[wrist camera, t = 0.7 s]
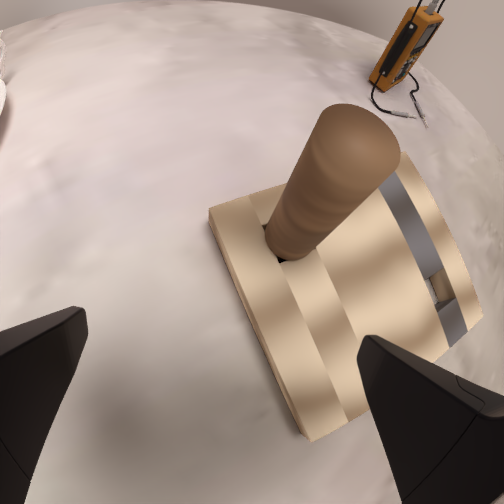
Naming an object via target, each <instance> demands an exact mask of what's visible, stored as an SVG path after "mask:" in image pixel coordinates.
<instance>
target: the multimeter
mask: <svg viewBox="0 0 504 504" xmlns="http://www.w3.org/2000/svg"><path fill="white" fill-rule="evenodd" d="M438 1H439V0H433V1H432V3H430V4H429V6H424V7H423V6H422V7H419V6H420V4H421V2H422V0H420V1H419V3H418V5H417V7H410V8H409V9H408V10H407V12H406V14H405V16H404V18H403V19H402V21H401V23H400V24H399V26H398V28H397V30H396V32H395V33H394V35H393V37H392V38H391V40H390V42H389V44H388V45H387V47H386V49H385V51H384V52H383V54H382V56H381V58H380V59H379V61H378V63H377V65H376V66H375V68H374V70H373V72H372V73H371V75H370V77H369V80H370V81H371V82H373V83H374V87H373V89H372V92H371V99H372V101H373V103H374V104H375V106H376V107H377V108H378V109H379V110H381V111H383V112H387V113H391V114H394V115H400V116H406V117H408V116H411V117H416V118H417V116H413V115H409V114H408V113H403V112H398V111H387V110H383V109H381V108H380V107H379V106H378V105H377V104H376V102H375V101H374V99H373V92H374V89H375V87H376V86H378V87H379V88H380V89H381V90H382V91H384V92H385V91H387V90H388V89H389V88H391V87H392V86H394V85H395V84H397V83H399V82H401V81H402V80H403V79H404V78H405V77H406V75H407V74H408V73H409V71H410V69H411V68H412V66H413V65H414V63H415V62H416V61H417V59H418V58H419V56H420V55H421V53H422V51H423V50H424V49H425V47H426V46H427V44H428V43H429V41H430V40H431V38H432V37H433V35H434V34H435V32H436V31H437V29H438V28H439V26H440V25H441V23H442V22H443V20H444V19H443V17H441V16H440V15H439V14H438V13H439V11H440V9H441V7H442V5H443V3H444V1H445V0H443V1H442V2H441V4H440V6H439V8H438V11H437V13H436V12H435V11H434V10H435V8H436V7H437V3H438ZM409 74H410V73H409ZM410 75H411V74H410ZM411 77H412V78H413V79H414V80H415V81H416V79H415V78H414V77H413V76H412V75H411ZM416 83H417V89H416V90H412V91H411V95H412V97H413V99H414V101H415V104H416V106H417V108H418V111H419V113H420V115H421V118H423V119H424V121H425V123H426V126H427V127H428V125H427V122H426V120H425V118H424V117H425V115H424V114H423V112H422V109H421V107H420V105H419V104H418V102H417V101H416V99H415V97H414V96H413V93H412V92H415V91H418V90H419V85H418V82H417V81H416Z"/></svg>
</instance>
